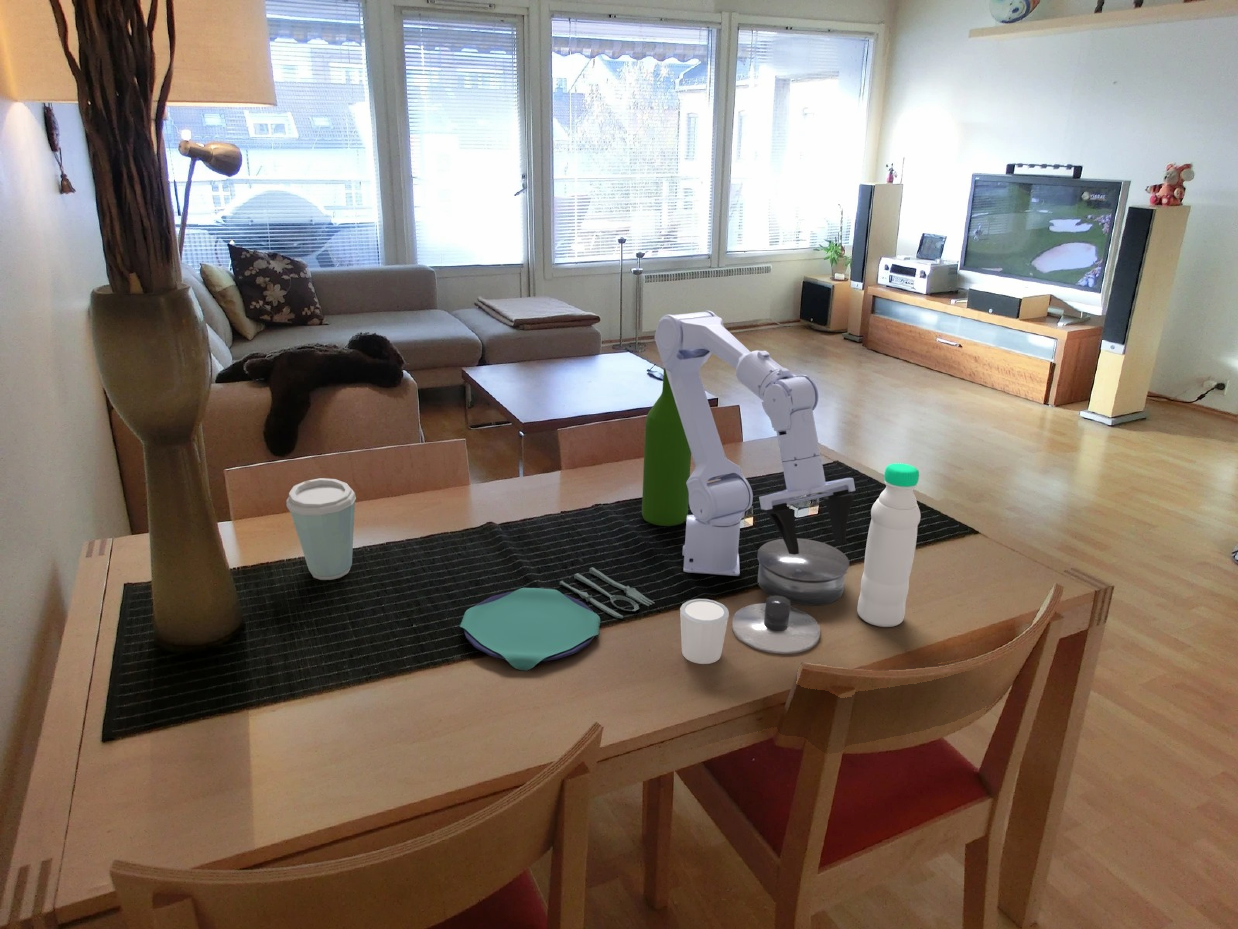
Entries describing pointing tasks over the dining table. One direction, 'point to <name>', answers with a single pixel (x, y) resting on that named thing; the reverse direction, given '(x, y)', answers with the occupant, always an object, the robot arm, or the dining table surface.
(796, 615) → the steel lid
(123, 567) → the dining table surface
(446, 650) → the dining table surface
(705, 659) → the white cup
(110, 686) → the dining table surface
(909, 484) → the water bottle
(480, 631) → the cutlery set
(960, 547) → the dining table surface
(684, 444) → the wine bottle
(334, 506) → the disposable coffee cup
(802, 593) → the cooking pot
